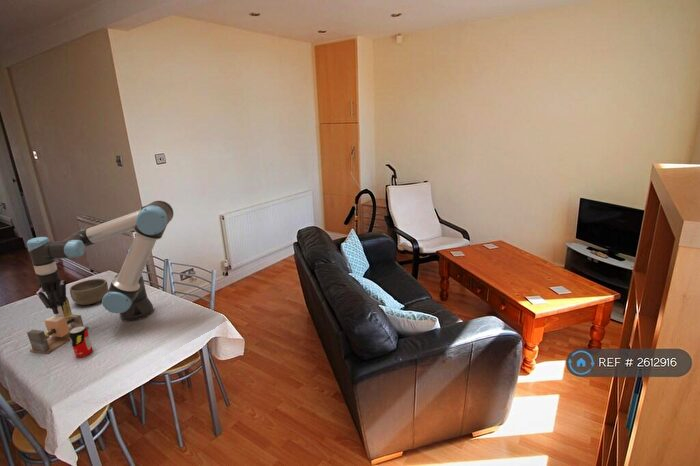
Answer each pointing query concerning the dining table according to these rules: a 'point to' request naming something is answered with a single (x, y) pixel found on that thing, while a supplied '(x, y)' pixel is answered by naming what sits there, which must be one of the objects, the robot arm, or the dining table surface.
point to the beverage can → (80, 341)
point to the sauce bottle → (66, 309)
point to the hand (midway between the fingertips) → (60, 318)
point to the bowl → (89, 291)
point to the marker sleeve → (57, 326)
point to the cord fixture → (46, 345)
